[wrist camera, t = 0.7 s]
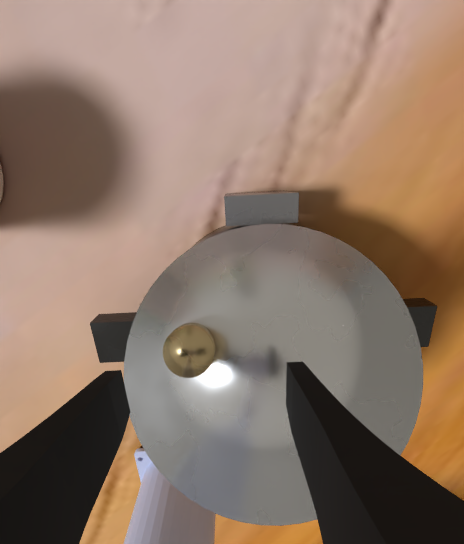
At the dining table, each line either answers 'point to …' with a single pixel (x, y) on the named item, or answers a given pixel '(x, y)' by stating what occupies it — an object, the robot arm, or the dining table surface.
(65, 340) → the dining table surface
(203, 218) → the dining table surface
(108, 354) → the cooker pot
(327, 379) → the cooker lid
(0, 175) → the teacup with lid
